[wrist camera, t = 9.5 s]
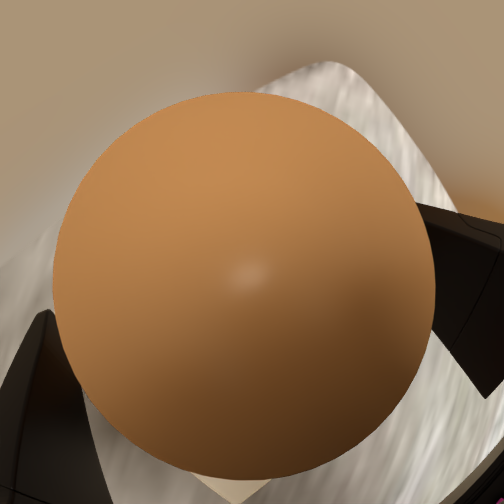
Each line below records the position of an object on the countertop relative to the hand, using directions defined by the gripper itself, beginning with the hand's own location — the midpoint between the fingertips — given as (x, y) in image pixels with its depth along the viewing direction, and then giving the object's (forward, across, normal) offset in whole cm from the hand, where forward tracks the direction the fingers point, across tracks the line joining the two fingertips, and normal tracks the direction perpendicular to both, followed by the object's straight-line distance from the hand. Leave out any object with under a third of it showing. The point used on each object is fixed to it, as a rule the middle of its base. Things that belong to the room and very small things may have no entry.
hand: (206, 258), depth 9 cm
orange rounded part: (+5, 0, +6) cm, 8 cm away
